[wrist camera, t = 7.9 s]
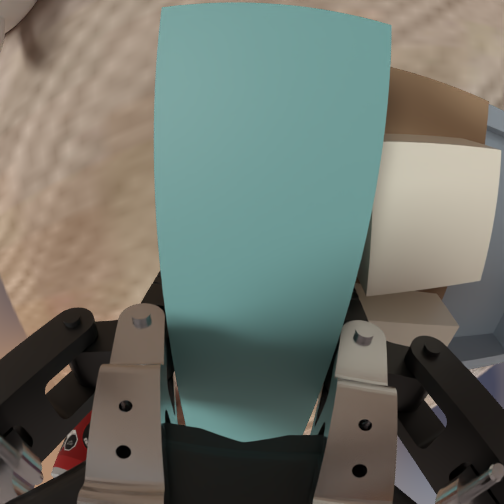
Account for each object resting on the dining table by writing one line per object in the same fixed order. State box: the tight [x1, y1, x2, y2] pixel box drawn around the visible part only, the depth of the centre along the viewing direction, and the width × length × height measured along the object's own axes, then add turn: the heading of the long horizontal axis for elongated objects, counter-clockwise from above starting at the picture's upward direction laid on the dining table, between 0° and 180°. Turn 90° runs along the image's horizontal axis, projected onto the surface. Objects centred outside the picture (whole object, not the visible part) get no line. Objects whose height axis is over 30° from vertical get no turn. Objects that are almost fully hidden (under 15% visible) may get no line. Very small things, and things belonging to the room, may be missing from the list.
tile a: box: [357, 134, 501, 296], centre depth 9 cm, size 5×5×2 cm
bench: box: [355, 67, 489, 300], centre depth 13 cm, size 16×10×4 cm, turn 178°
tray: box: [442, 104, 504, 369], centre depth 13 cm, size 16×11×3 cm
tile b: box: [318, 283, 459, 400], centre depth 12 cm, size 5×5×2 cm
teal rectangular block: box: [154, 3, 391, 442], centre depth 9 cm, size 16×4×5 cm, turn 177°
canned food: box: [51, 410, 92, 478], centre depth 18 cm, size 8×8×11 cm
